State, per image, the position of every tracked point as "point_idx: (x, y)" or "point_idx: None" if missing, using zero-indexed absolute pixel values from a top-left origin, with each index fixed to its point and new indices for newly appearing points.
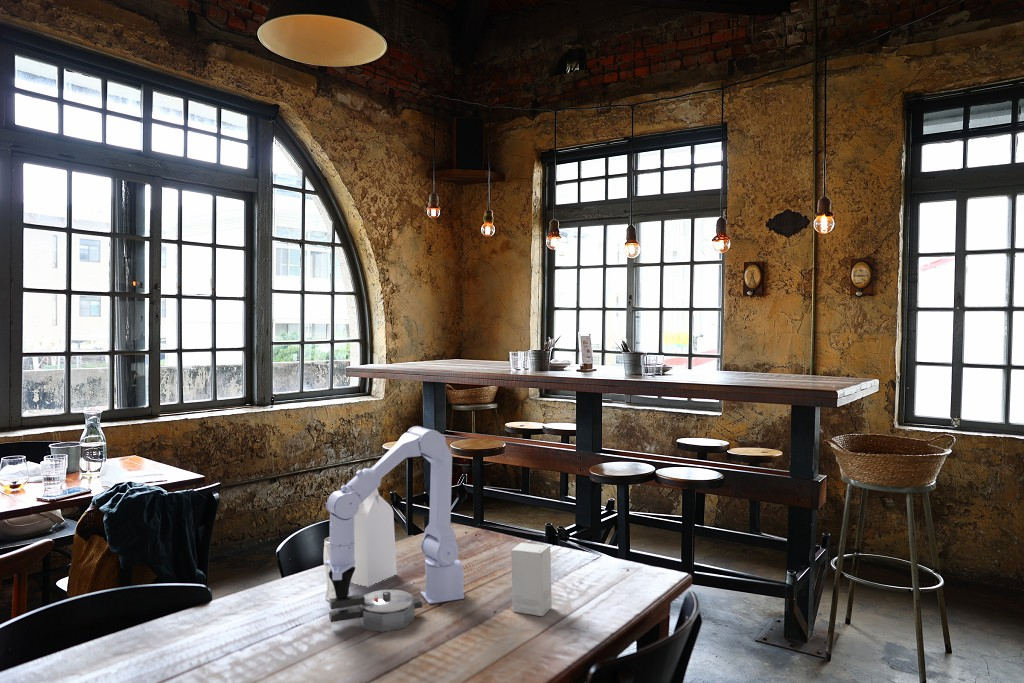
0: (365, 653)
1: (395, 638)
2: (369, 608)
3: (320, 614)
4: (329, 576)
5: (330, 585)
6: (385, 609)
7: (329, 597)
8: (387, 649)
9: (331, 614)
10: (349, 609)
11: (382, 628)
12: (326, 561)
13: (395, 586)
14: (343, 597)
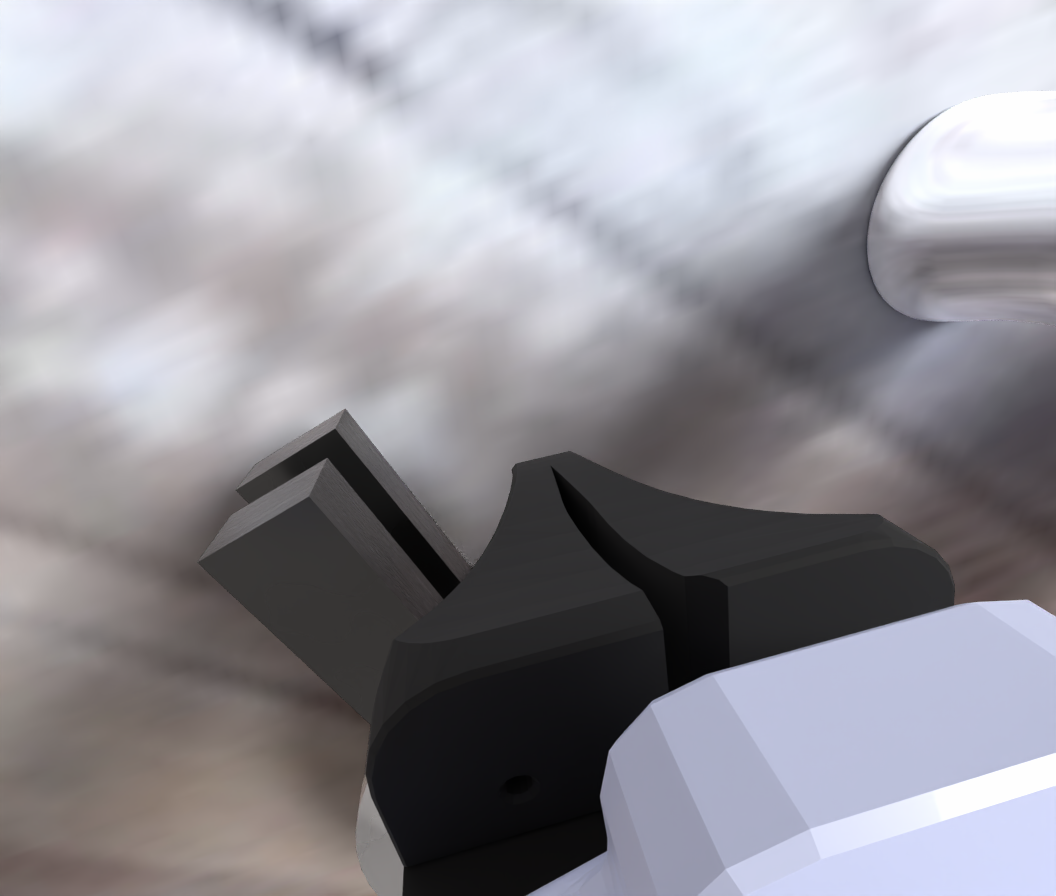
0: (43, 754)
1: (309, 801)
2: (365, 792)
3: (608, 199)
4: (389, 661)
5: (1040, 161)
6: (373, 882)
7: (917, 167)
8: (153, 821)
9: (278, 476)
10: (437, 579)
11: (368, 743)
12: (1009, 852)
13: (1049, 545)
14: (398, 627)
